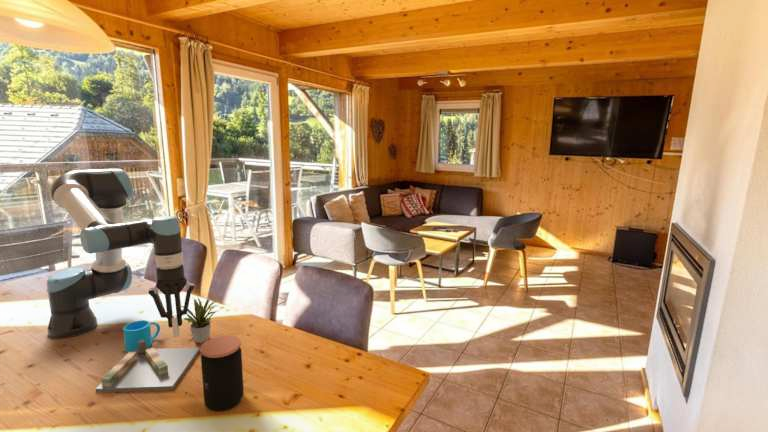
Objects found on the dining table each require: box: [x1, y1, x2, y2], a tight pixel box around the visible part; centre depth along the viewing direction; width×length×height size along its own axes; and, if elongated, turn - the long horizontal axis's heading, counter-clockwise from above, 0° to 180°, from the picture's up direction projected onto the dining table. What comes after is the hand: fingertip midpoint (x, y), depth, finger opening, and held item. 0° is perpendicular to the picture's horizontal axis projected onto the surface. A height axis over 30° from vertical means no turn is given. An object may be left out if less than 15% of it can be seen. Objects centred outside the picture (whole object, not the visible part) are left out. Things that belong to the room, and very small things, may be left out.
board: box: [95, 347, 201, 393], centre depth 126 cm, size 22×22×1 cm
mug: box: [122, 319, 161, 352], centre depth 141 cm, size 12×8×8 cm
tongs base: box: [100, 340, 146, 387], centre depth 125 cm, size 20×5×4 cm, turn 5°
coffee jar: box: [199, 335, 244, 412], centre depth 111 cm, size 11×11×18 cm
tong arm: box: [145, 346, 168, 376], centre depth 127 cm, size 15×2×2 cm, turn 45°
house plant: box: [181, 296, 220, 344], centre depth 144 cm, size 14×14×16 cm
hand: (176, 335), depth 124 cm, fingers closed
